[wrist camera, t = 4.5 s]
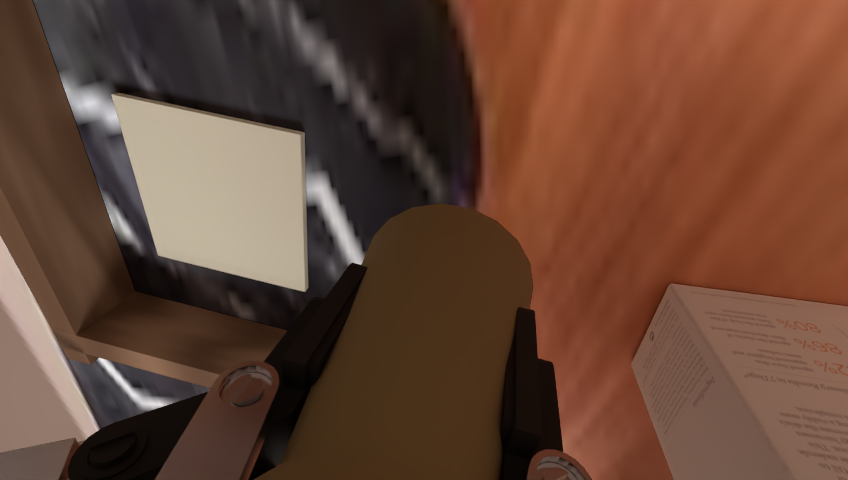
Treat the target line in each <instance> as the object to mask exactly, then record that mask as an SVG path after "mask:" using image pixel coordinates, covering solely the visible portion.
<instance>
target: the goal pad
mask: <svg viewBox="0 0 848 480" xmlns="http://www.w3.org/2000/svg"><path fill="white" fill-rule="evenodd" d="M111 95H112V98H113V102H114V105H115V109H116V112H117V116H118V119H119V123H120V126H121V129H122V133H123V136H124V140H125V143H126V147H127V150H128V154H129V157H130V160H131V164H132V167H133V171H134V174H135V178H136V181H137V185H138V188H139V191H140V195H141V198H142V202H143V205H144V209H145V212H146V216H147V219H148V223H149V226H150V229H151V233H152V236H153V240H154V243H155V247H156V250H157V254H158V256H162V257H166V258H170V259H174V260H178V261H182V262H186V263H190V264H194V265H198V266H202V267H206V268H210V269H214V270H218V271H222V272H226V273H230V274H234V275H238V276H242V277H246V278H250V279H254V280H258V281H262V282H266V283H270V284H274V285H279V286H283V287H287V288H291V289H295V290H299V291H303V292H306V290H307V289H308V254H307V212H306V170H305V132H300V131H296V130H291V129H286V128H282V127H277V126H272V125H268V124H263V123H258V122H253V121H249V120H244V119H239V118H235V117H230V116H225V115H221V114H216V113H211V112H207V111H202V110H197V109H193V108H188V107H183V106H178V105H174V104H169V103H164V102H160V101H155V100H150V99H146V98H141V97H136V96H132V95H127V94H122V93H116V94H111Z"/></svg>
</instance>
